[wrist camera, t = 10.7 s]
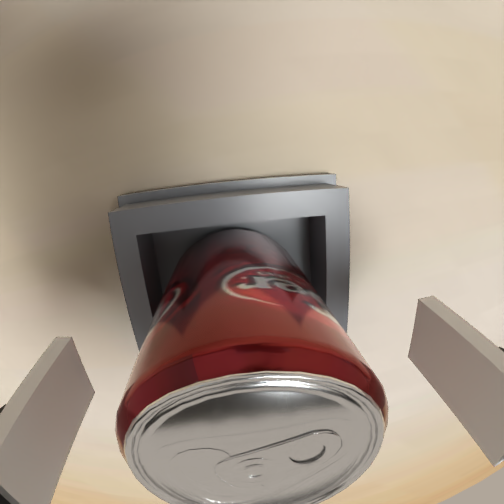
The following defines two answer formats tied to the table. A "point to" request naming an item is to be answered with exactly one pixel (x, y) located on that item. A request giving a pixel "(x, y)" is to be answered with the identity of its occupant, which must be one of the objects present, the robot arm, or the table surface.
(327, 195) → the box
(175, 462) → the soda can
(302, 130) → the table surface
